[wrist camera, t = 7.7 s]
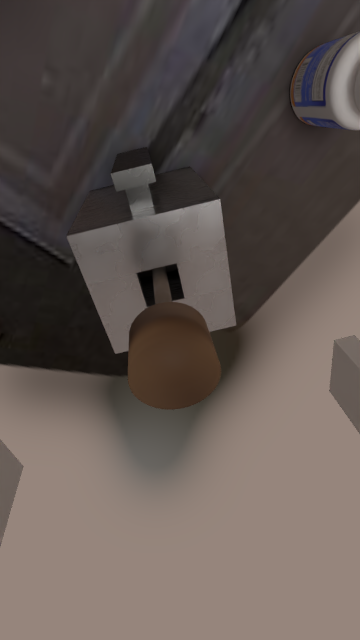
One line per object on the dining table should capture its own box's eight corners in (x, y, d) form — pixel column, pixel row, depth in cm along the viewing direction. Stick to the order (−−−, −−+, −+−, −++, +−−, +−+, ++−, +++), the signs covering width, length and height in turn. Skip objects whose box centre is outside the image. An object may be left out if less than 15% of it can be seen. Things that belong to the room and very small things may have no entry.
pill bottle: (363, 89, 27) (463, 82, 19) (307, 140, 28) (376, 154, 20) (334, 23, 24) (435, -19, 16) (274, 83, 26) (339, 73, 18)
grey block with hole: (120, 280, 33) (115, 353, 23) (79, 161, 27) (48, 193, 17) (205, 260, 33) (236, 325, 23) (184, 135, 27) (214, 152, 17)
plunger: (128, 277, 31) (123, 440, 16) (105, 208, 27) (70, 335, 12) (196, 261, 31) (255, 409, 16) (182, 189, 27) (243, 294, 12)
